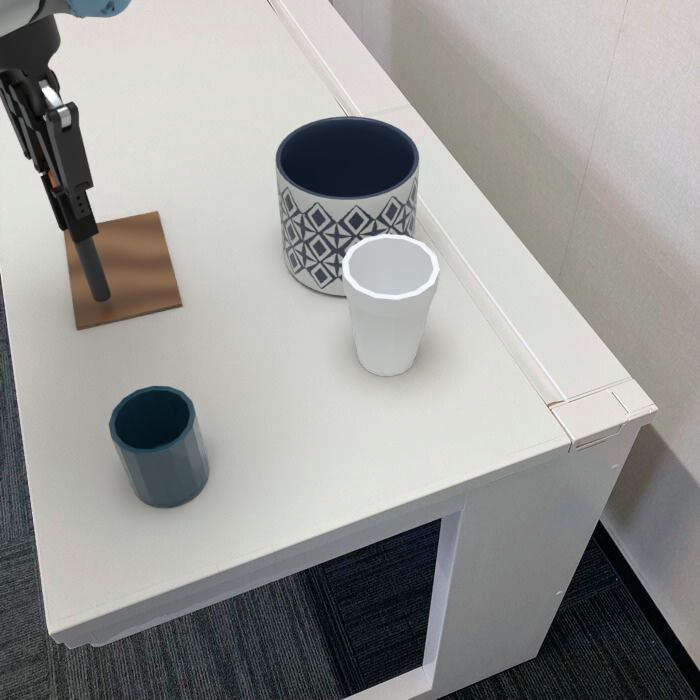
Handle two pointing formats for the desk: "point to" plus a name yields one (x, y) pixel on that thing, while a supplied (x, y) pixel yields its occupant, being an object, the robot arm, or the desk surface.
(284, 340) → the desk surface
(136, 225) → the brown wooden board
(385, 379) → the desk surface
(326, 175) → the planter
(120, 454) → the pen cup
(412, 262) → the foam cup
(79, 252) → the marker
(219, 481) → the desk surface
